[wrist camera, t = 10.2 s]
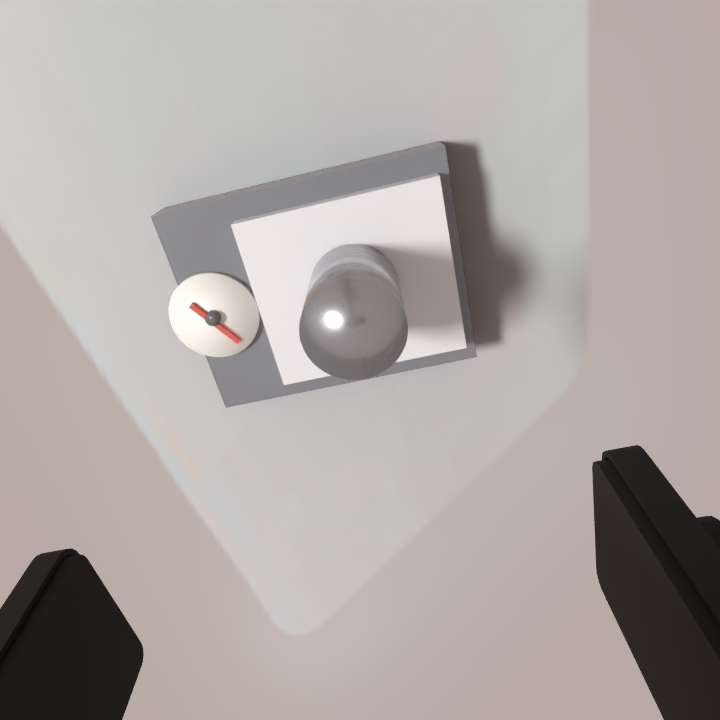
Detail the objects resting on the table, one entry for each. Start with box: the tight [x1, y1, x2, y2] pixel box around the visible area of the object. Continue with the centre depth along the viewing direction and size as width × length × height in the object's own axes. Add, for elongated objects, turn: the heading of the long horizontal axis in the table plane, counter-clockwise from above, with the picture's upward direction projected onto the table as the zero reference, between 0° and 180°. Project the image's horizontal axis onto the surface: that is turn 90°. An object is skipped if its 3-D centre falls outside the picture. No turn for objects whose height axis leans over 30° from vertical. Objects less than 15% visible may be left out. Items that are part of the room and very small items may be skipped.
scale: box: [151, 141, 477, 407], centre depth 26 cm, size 10×14×3 cm
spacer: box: [299, 244, 408, 380], centre depth 22 cm, size 4×4×5 cm
